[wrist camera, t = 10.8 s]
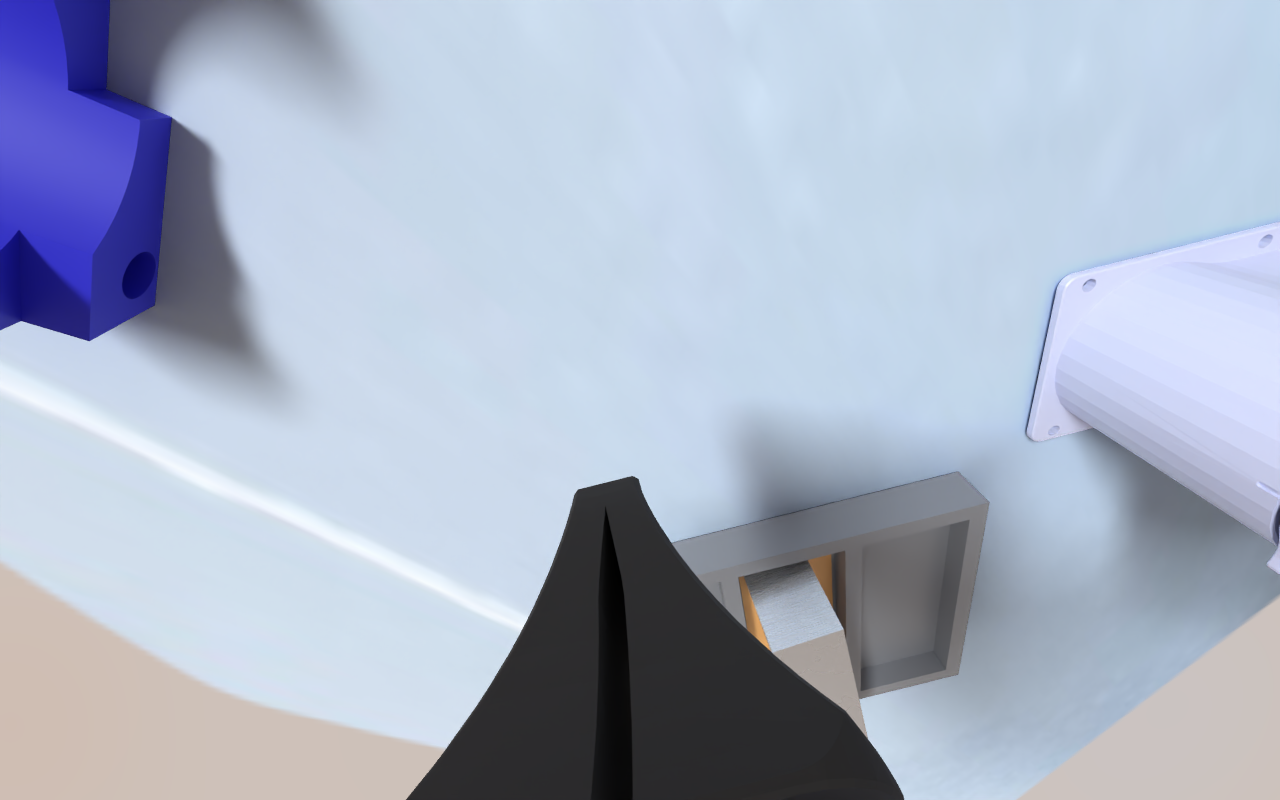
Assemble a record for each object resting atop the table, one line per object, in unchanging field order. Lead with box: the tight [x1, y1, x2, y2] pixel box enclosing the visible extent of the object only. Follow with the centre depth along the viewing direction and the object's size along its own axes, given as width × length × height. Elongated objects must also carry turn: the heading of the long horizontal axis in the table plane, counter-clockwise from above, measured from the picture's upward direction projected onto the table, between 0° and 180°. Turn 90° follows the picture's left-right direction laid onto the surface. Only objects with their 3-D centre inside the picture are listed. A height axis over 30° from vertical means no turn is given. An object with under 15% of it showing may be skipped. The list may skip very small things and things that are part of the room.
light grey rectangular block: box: [744, 560, 868, 739], centre depth 26 cm, size 3×10×4 cm, turn 19°
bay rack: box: [672, 472, 989, 699], centre depth 28 cm, size 18×14×2 cm
